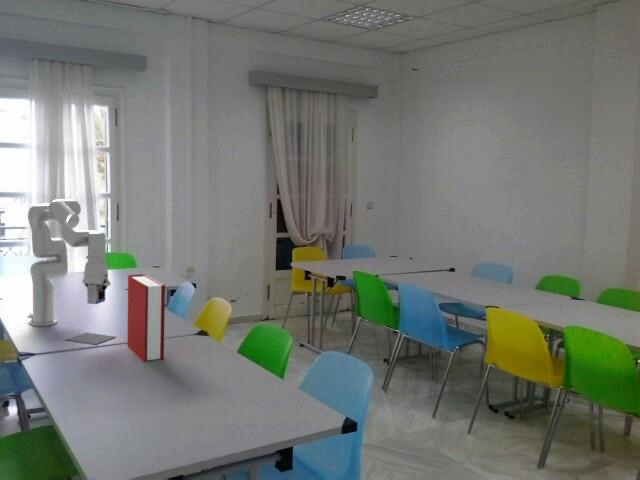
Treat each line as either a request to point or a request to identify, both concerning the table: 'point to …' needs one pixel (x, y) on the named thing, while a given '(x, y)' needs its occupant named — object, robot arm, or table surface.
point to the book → (146, 317)
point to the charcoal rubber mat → (90, 338)
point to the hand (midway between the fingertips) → (96, 298)
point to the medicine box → (93, 294)
